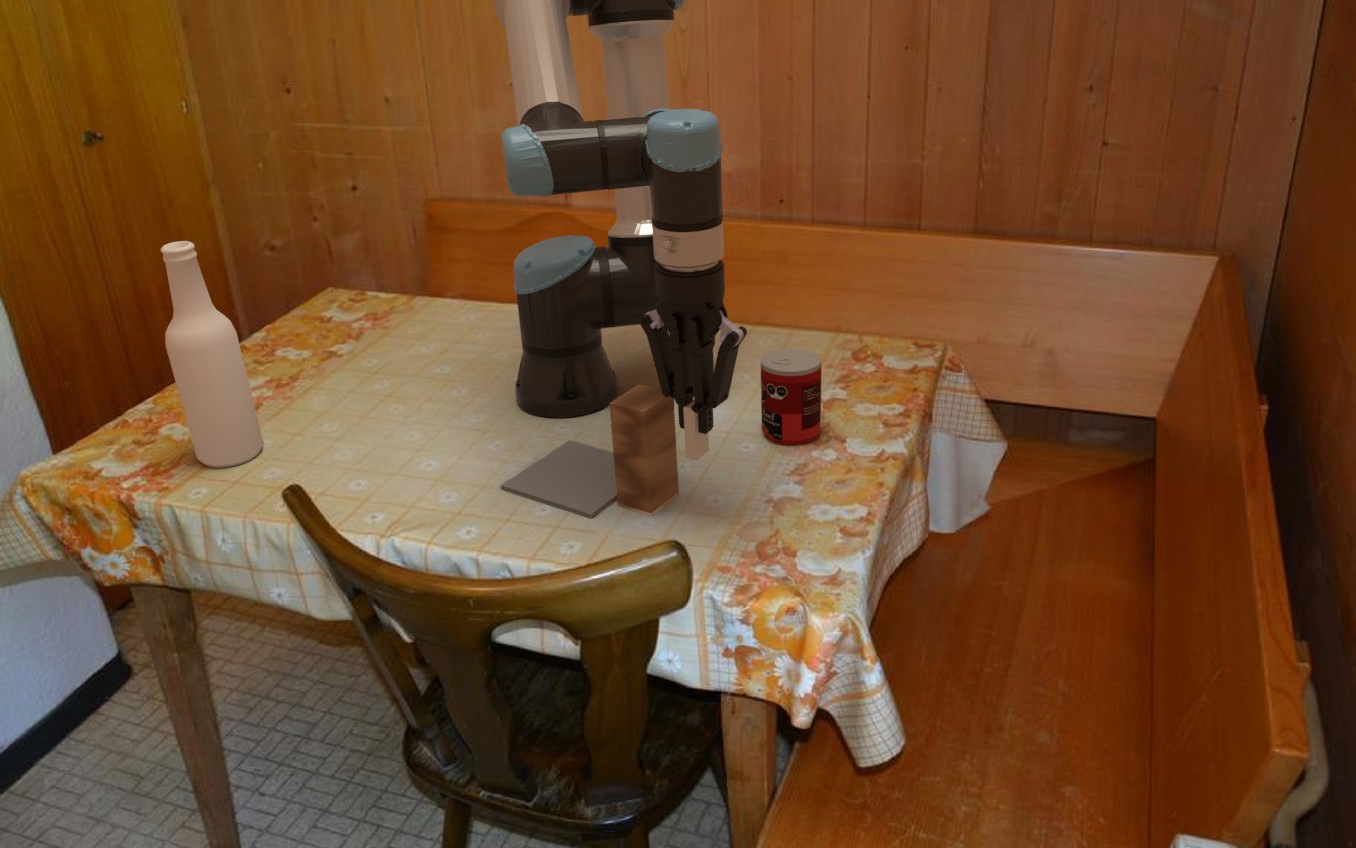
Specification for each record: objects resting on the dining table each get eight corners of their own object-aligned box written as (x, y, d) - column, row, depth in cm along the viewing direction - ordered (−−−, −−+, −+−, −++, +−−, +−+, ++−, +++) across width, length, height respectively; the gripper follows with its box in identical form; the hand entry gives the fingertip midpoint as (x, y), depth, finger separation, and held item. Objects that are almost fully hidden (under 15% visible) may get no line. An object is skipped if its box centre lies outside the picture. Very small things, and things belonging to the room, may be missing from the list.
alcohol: (269, 436, 157) (219, 231, 143) (259, 465, 149) (206, 251, 135) (204, 443, 155) (149, 238, 142) (191, 473, 148) (130, 259, 134)
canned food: (757, 423, 153) (756, 350, 148) (814, 418, 153) (815, 346, 148) (766, 449, 146) (765, 373, 141) (825, 444, 147) (826, 368, 142)
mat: (501, 489, 140) (500, 485, 139) (569, 444, 150) (569, 440, 150) (591, 518, 132) (591, 514, 132) (657, 468, 143) (657, 464, 142)
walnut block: (617, 505, 135) (609, 403, 128) (645, 484, 139) (639, 384, 133) (651, 516, 132) (644, 412, 126) (678, 494, 137) (673, 392, 130)
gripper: (619, 262, 118) (633, 455, 129) (723, 280, 112) (728, 481, 122) (658, 243, 124) (668, 429, 134) (759, 258, 117) (761, 453, 128)
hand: (697, 454), depth 128 cm, fingers closed
